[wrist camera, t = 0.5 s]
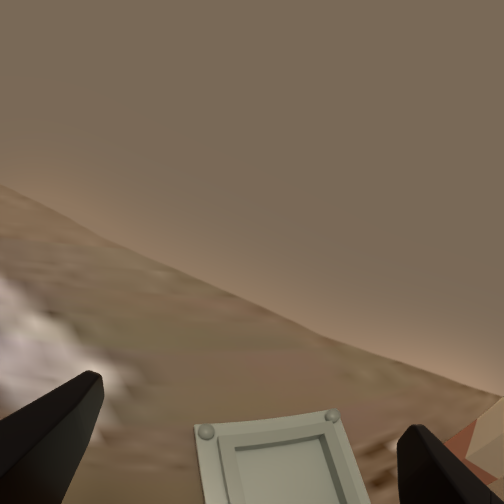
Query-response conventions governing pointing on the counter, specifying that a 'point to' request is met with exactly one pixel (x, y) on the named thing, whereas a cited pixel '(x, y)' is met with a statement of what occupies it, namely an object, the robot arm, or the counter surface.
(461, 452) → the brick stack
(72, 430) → the robot arm
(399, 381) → the counter surface
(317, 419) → the baseplate
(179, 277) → the counter surface
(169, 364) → the counter surface
